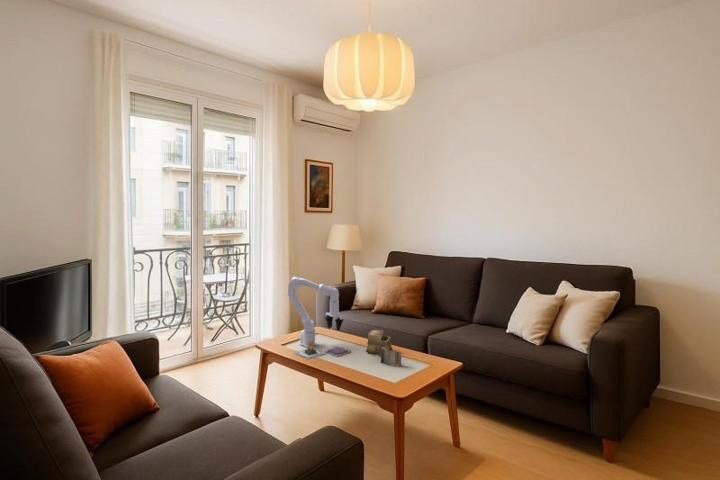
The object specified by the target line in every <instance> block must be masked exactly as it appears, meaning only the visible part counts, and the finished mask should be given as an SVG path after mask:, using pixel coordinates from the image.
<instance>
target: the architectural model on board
mask: <svg viewBox="0 0 720 480" xmlns="http://www.w3.org/2000/svg"><path fill="white" fill-rule="evenodd" d="M381 348H382V350H381V356H380V363H383V364H384V365H390V366H394V367H398V368H399V367H401V366H402V352H401V351H397V350H393V351H392V350H387V349H385V347H381Z"/></svg>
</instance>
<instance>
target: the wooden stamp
mask: <svg viewBox="0 0 720 480" xmlns="http://www.w3.org/2000/svg"><path fill="white" fill-rule="evenodd" d="M307 349H308V350H306V349H304V350H305V353H306V354H308V355H311V354H315V353H316V350H317V349H316V350H314V349H315V348H314V346H313V340H308V347H307Z"/></svg>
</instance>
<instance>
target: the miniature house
mask: <svg viewBox="0 0 720 480" xmlns="http://www.w3.org/2000/svg"><path fill="white" fill-rule="evenodd" d="M366 344H367V347H366V349H365V352H366V353H367V355H376V356H378V357H379V356H380V357H381V350H382V348H381V347H385V349H387V350H393V347H392V339H391V336H390V335H389V336H387V335H386V334H385V330H383V329H371V330H370V332H368V333H367V343H366ZM393 351H394V350H393Z"/></svg>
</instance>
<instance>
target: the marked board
mask: <svg viewBox="0 0 720 480" xmlns="http://www.w3.org/2000/svg"><path fill="white" fill-rule="evenodd" d="M313 349H314V350H316V353H315V354H311V355H308V354H306V353H305V350H308V348H306V349H303V350H299V351H295V352H294V353H293V354H294V355H297V356H300V357H302V358H305V359H307V360H310V359H314V358H316V357H319V356H324V355H326V354H327V353H325V351H321V350H318V349H316V348H313Z"/></svg>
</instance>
